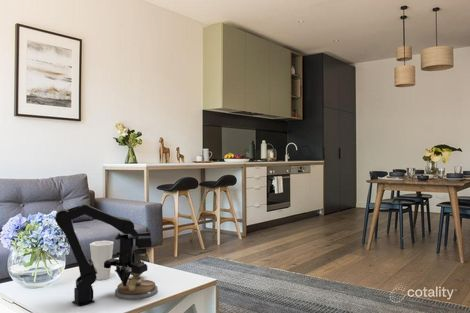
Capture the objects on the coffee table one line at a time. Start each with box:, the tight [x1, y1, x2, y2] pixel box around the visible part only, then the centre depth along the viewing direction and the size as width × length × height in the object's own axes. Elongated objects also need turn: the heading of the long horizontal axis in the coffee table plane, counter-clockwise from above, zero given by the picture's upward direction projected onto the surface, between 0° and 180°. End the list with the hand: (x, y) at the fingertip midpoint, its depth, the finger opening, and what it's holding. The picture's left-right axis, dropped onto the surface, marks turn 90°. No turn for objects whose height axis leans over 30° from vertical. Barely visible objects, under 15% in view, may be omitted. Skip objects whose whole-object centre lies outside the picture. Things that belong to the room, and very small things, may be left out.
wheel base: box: [114, 284, 158, 301], centre depth 176 cm, size 18×18×2 cm
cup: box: [89, 240, 115, 281], centre depth 198 cm, size 11×10×17 cm
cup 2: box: [130, 260, 145, 280], centre depth 197 cm, size 8×7×8 cm
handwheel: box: [116, 277, 156, 295], centre depth 176 cm, size 16×16×6 cm
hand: (124, 286), depth 170 cm, fingers closed
